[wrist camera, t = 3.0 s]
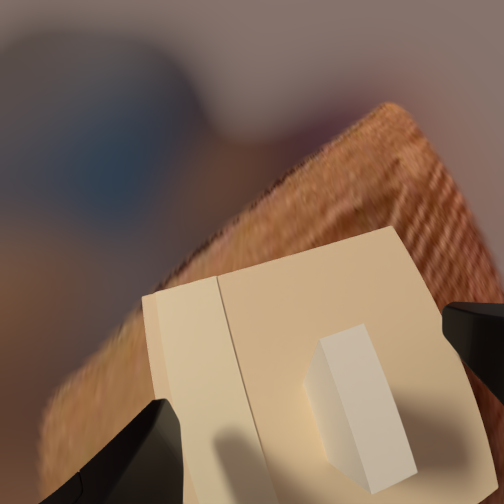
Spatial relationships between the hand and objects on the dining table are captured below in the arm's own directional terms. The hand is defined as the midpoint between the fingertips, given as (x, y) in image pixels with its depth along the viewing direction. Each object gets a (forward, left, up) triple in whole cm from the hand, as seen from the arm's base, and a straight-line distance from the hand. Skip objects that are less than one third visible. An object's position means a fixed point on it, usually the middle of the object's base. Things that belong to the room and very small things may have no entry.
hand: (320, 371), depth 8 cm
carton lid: (-1, +1, -2) cm, 2 cm away
